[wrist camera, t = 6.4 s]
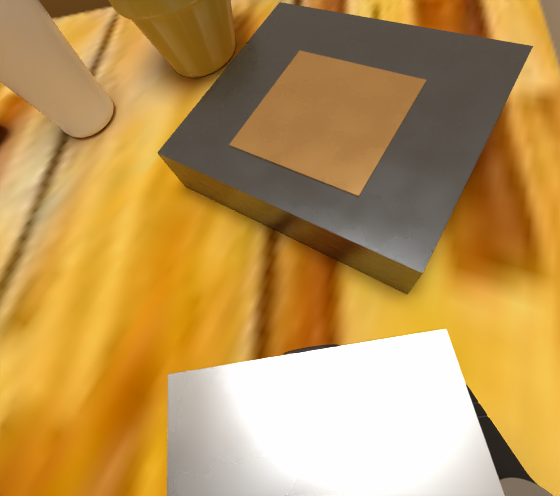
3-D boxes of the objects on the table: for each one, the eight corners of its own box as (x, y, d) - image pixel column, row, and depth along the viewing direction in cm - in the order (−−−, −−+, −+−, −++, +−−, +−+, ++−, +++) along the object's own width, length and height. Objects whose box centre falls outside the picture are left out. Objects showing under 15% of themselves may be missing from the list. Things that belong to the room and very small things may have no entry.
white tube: (99, 152, 28) (-132, -59, 14) (47, 140, 30) (-198, -55, 17) (136, 97, 30) (-36, -135, 16) (85, 89, 32) (-105, -123, 19)
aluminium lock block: (421, 506, 12) (617, 817, 4) (283, 520, 13) (164, 818, 4) (381, 352, 15) (440, 313, 6) (266, 370, 15) (167, 359, 6)
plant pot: (191, 111, 28) (119, -13, 19) (137, 64, 32) (58, -56, 23) (276, 43, 29) (246, -102, 20) (214, 7, 33) (167, -127, 24)
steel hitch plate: (184, 186, 25) (156, 151, 21) (288, 50, 28) (279, 0, 25) (407, 294, 18) (423, 272, 15) (502, 100, 22) (533, 44, 18)
